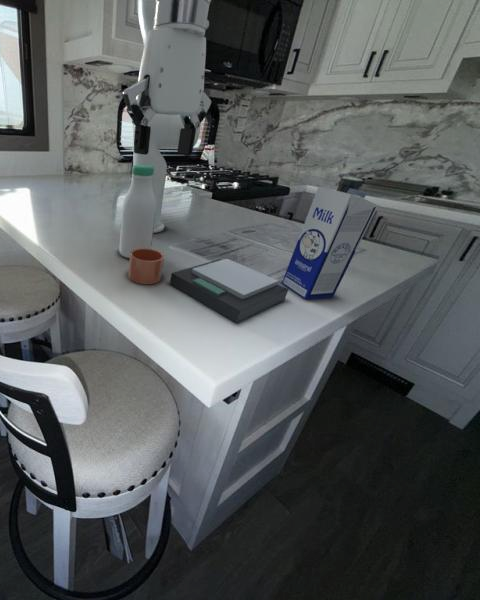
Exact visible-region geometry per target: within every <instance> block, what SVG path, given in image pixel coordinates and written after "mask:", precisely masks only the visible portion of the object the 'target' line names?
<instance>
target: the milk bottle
mask: <svg viewBox="0 0 480 600" xmlns="http://www.w3.org/2000/svg"><path fill="white" fill-rule="evenodd" d="M153 173H154V167H152V166H148V165H134V166H133V165H132V168H131V182H130V183H131V184H130V186H129V189H128V191H127V193H126V194H125V196H124V198H123V199H124V200H123V203H122V208H121V218H120V219H121V220H120V234H119V249H118V251H119V254H120V255H121V256H122V257H123V258H126V259H130V253H131V251H133V250H136V249H152V247H153V239H154V233H153V231H154V223H155V213H156V201H155V197H154V193H153V190H152V183H151V180H152V178H153ZM132 177H133V179H132Z"/></svg>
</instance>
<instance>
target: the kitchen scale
mask: <svg viewBox="0 0 480 600" xmlns="http://www.w3.org/2000/svg"><path fill="white" fill-rule="evenodd" d="M279 281H280V280H278V279H277V278H276V279H275V278H273V277H271V276H268V275H266V274H264V273H262V272H260V271H257V270H255V269H252V268H250V267H248V266H245V265H244V264H241V263H238V262H236V261H233V260H231V259H229V258H224V259H220V258H219V259H215V260H212V261H208V262H205V263H201V264H198V265H195V266H191V267H188V268H184V269H179V270H177V271H173V272H171V275H170V279H169V284H170V285H171V286H172V287H174V288H176V289H178V290H179V291H181V292H183V293H185V294H186V295H188V296H190V298H193V299H194V300H196V301H198V302H200V303H201V304H203V305H205V306H206V307H208V308H210V309H212V310H213V311H215V312H216V313H218V314H220V315H222V316H223V317H225V318H227V319H228V320H230V321H232V322H233V323H235V324H238V323H240V322H241V321H243V320H245V319H248V318H250V317H252V316H254V315H256V314H258V313H260V312H263V311H265V310H267V309H269V308H271V307H273V306H275V305H278V304H280V303H281V302H284V301H285V300H286V297H287V294H288V292H289V290H290V289H289V288H288V287H286V286H282V285H280V284H279Z"/></svg>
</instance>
